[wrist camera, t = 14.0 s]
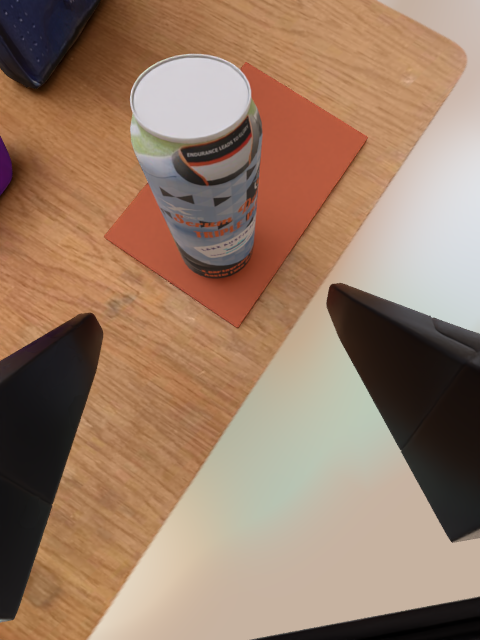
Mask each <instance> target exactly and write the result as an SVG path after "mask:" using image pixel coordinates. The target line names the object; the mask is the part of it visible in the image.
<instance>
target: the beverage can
mask: <svg viewBox="0 0 480 640" xmlns="http://www.w3.org/2000/svg"><path fill="white" fill-rule="evenodd" d="M130 105H131V109H132V112H133V115H132V120H131V127H130V132H131V142H132V146H133V149H134V152H135V155H136V157H137V159H138V161H139V163H140V166H141V168H142V170H143V172H144V175H145V177H146V179H147V181H148V183H149V186H150V188H151V190H152V192H153V195H154V197H155V199H156V201H157V203H158V206H159V208H160V210H161V212H162V214H163V217H164V219H165V221H166V223H167V226H168V228H169V230H170V232H171V234H172V237H173V239H174V241H175V243H176V246H177V248H178V250H179V252H180V254H181V257H182V259H183V261H184V262H185V264H186V265H187V266H188V267H189V269H191V270H192V271H193V272H194V273H196V274H198V275H200V276H203V277H206V278H213V279H216V278H225V277H228V276H231V275H234V274H235V273H237V272H239V271H240V270H241V269H243V268H244V267H245V265H246V264H247V263H248V261H249V260H250V258H251V255H252V253H253V247H254V234H255V222H256V209H257V197H258V185H259V172H260V160H261V147H262V121H261V118H260V114H259V111H258V109H257V107H256V105H255V103H254V101H253V99H252V98H251V88H250V84H249V82H248V80H247V78H246V76H245V75H244V74H243V72H242V71H241V70H240V69H239V68H237V67H236V66H235V65H234V64H232V63H230V62H228V61H226V60H224V59H221V58H219V57H215V56H211V55H205V54H185V55H178V56H174V57H170V58H167V59H164V60H162V61H159V62H158V63H156V64H154V65H152V66H151V67H149V68H148V69H146V70H145V71H144V72H143V73H142V74H141V75H140V76H139V77H138V79H137V80H136V82H135V83H134V85H133V88H132V90H131V95H130Z"/></svg>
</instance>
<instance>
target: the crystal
mask: <svg viewBox="0 0 480 640" xmlns="http://www.w3.org/2000/svg"><path fill="white" fill-rule="evenodd" d="M12 174H13V173H12V163H11V159H10V156H9V154H8V151H7V149H6V147H5V145H4V143H3V141H2V138H1V136H0V195H1V194H2V192H3V191H4V190H5V189H6V187H7V186H8V185H9V183H10V181H11V179H12Z"/></svg>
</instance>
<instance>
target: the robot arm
mask: <svg viewBox="0 0 480 640" xmlns="http://www.w3.org/2000/svg"><path fill="white" fill-rule="evenodd" d="M327 309H328V311H329V314H330V316H331V319H332V322H333V324H334V326H335V329H336V331H337V334H338V336H339V338H340V341H341V343H342V344H343V346H344V348H345V350H346V352H347V353H348V355H349V357H350V359H351V361H352V363H353V364H354V366H355V368H356V370H357V372H358V374H359V375H360V377H361V379H362V381H363V383H364V385H365V386H366V388H367V390H368V392H369V394H370V396H371V397H372V399H373V401H374V403H375V405H376V407H377V408H378V410H379V412H380V414H381V416H382V417H383V419H384V421H385V423H386V425H387V426H388V428H389V430H390V432H391V434H392V436H393V438H394V439H395V441H396V443H397V445H398V447H399V448H400V450H402V451H401V452H402V454H403V456H404V458H405V460H406V462H407V463H408V465H409V467H410V469H411V471H412V472H413V474H414V476H415V478H416V480H417V482H418V483H419V485H420V487H421V489H422V491H423V493H424V494H425V496H426V498H427V500H428V502H429V503H430V505H431V507H432V509H433V511H434V513H435V514H436V516H437V518H438V520H439V522H440V523H441V525H442V527H443V529H444V531H445V533H446V534H447V536H448V537H449V539H450V541H451V542H452V543H453V542H459V541H465V540H470V539H476V538H480V334H479V333H476V332H473V331H470V330H467V329H464V328H461V327H458V326H455V325H453V324H450V323H447V322H444V321H442V320H439V319H436V318H432V317H431V316H428V315H425V314H423V313H420V312H418V311H415V310H412V309H410V308H407V307H404V306H402V305H399V304H396V303H394V302H391V301H388V300H386V299H383V298H380V297H377V296H374V295H372V294H369V293H367V292H364V291H361V290H359V289H356V288H353V287H351V286H348V285H345V284H343V283H337V284H332V285H331V286H330V287H329V292H328V297H327ZM102 340H103V330H102V328H101V326H100V324H99V322H98V321H97V319H96V317H95V315H94V314H92V313H84V314H79V315H77V316H76V317H74V318H72V319H71V320H69V321H67V322H65V323H64V324H62V325H60V326H59V327H57V328H55V329H54V330H52V331H50V332H49V333H47V334H45V335H44V336H42V337H40V338H38V339H37V340H35V341H33V342H32V343H30V344H28V345H27V346H25V347H23V348H22V349H20V350H18V351H16V352H15V353H13V354H11V355H10V356H8V357H6V358H5V359H3V360H1V361H0V622H5V621H10V620H14V618H15V616H16V613H17V611H18V608H19V606H20V603H21V600H22V597H23V594H24V591H25V587H26V584H27V581H28V578H29V575H30V572H31V569H32V566H33V563H34V560H35V557H36V554H37V551H38V548H39V545H40V542H41V539H42V536H43V533H44V529H45V526H46V523H47V520H48V517H49V514H50V511H51V508H52V504H53V501H54V498H55V495H56V492H57V489H58V486H59V483H60V480H61V477H62V474H63V471H64V468H65V465H66V462H67V459H68V456H69V453H70V450H71V447H72V443H73V440H74V437H75V434H76V431H77V428H78V425H79V422H80V419H81V416H82V413H83V410H84V407H85V404H86V401H87V398H88V395H89V392H90V389H91V386H92V382H93V379H94V376H95V373H96V369H97V365H98V360H99V355H100V350H101V345H102ZM252 640H480V597H474V598H469V599H464V600H458V601H453V602H448V603H443V604H438V605H432V606H427V607H421V608H416V609H411V610H405V611H401V612H395V613H389V614H385V615H379V616H374V617H368V618H364V619H358V620H353V621H347V622H342V623H337V624H331V625H326V626H321V627H316V628H310V629H304V630H300V631H295V632H289V633H283V634H278V635H273V636H267V637H262V638H257V639H252Z"/></svg>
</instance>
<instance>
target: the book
mask: <svg viewBox="0 0 480 640" xmlns="http://www.w3.org/2000/svg"><path fill="white" fill-rule="evenodd" d="M99 2H100V0H0V68H1V70H2V71H3V72H4V73H5V74H6V75H7V76H8V77H10V78H11V79H13V80H15V81H17V82H19V83H21V84H22V85H24V86H25V87H30V88H33V89H37V88H39V87H40V86H42V85H43V84H44V83H45V82H46V81H47V80H48V78H49V77H50V76H51V74H52V73H53V72H54V70H55V69H56V66H57V65H58V64H59V63H60V61H61V60H62V58H63V57H64V55H65V54H66V53H67V52H68V50H69V49H70V48H71V47H72V45H73V44H74V43H75V41H76V40H77V38H78V37H79V35H80V34H81V32H82V30H83V28H84V27H85V25H86V23H87V21H88V20H89V18H90V17H91V15H92V14H93V12H94V11H95V10H96V8H97V6H98V4H99Z"/></svg>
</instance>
